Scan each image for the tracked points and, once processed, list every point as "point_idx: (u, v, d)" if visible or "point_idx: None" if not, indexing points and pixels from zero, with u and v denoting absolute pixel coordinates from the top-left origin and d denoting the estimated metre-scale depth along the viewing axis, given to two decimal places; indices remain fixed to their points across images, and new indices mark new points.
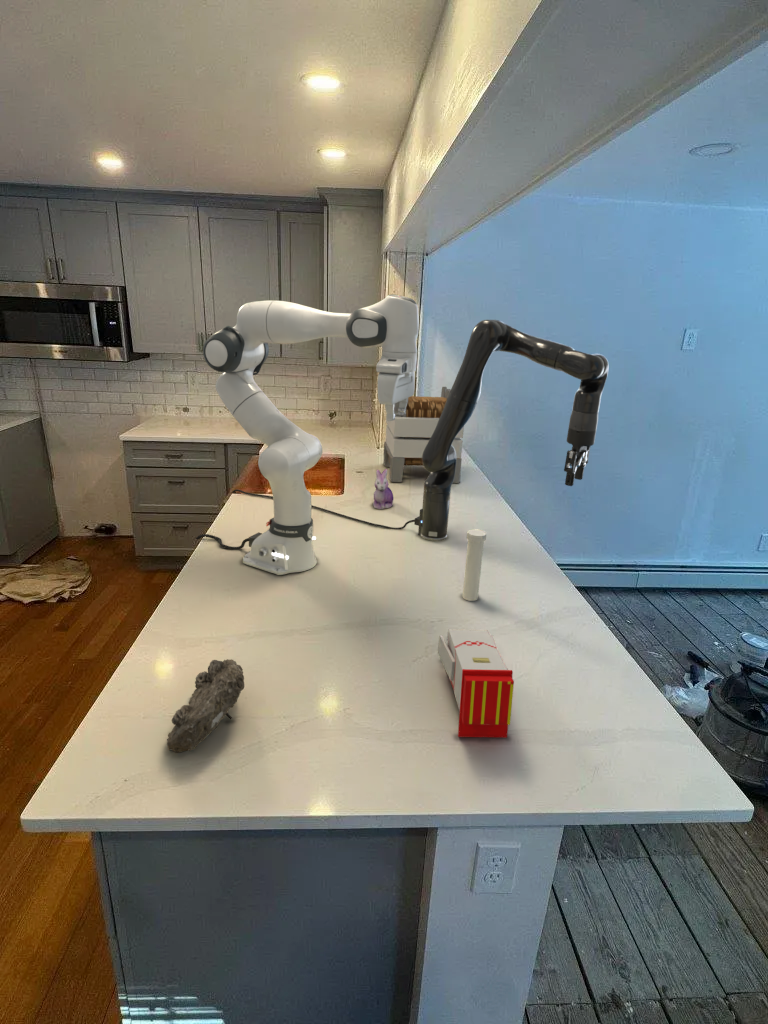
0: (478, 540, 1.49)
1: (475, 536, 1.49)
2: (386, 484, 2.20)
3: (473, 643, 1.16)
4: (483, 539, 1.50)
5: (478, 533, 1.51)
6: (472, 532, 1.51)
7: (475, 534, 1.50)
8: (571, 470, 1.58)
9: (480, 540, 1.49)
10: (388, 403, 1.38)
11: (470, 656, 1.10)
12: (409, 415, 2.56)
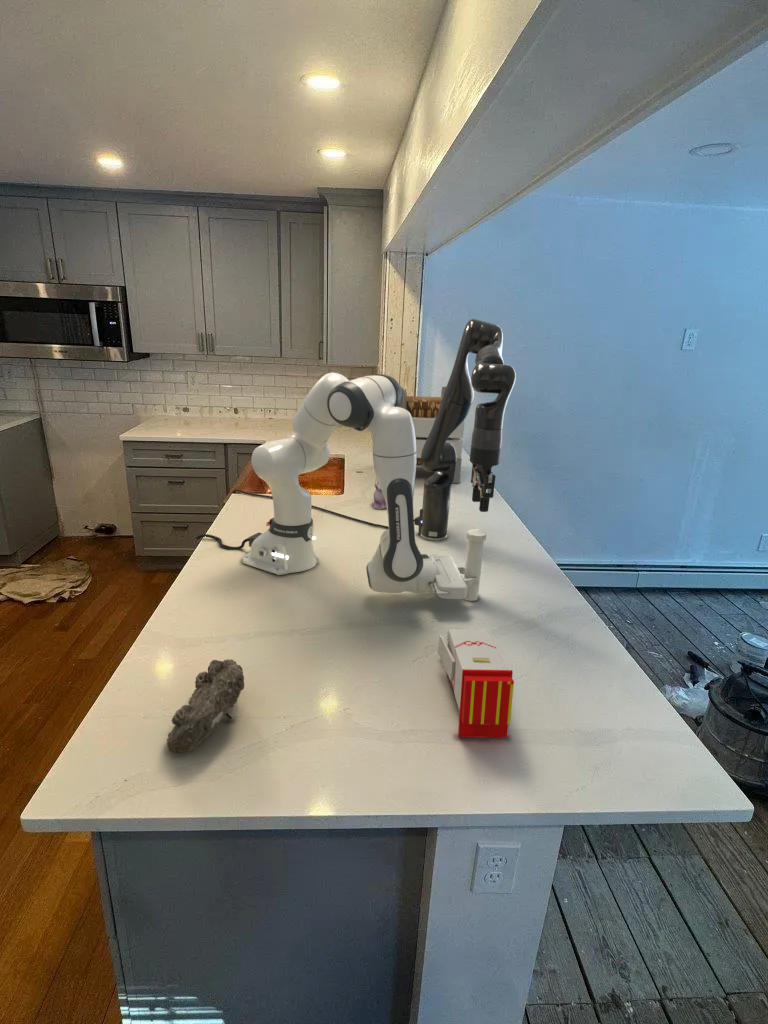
0: (478, 540, 1.49)
1: (475, 536, 1.49)
2: None
3: (473, 643, 1.16)
4: (483, 539, 1.50)
5: (478, 533, 1.51)
6: (472, 532, 1.51)
7: (475, 534, 1.50)
8: None
9: (480, 540, 1.49)
10: None
11: (470, 656, 1.10)
12: None
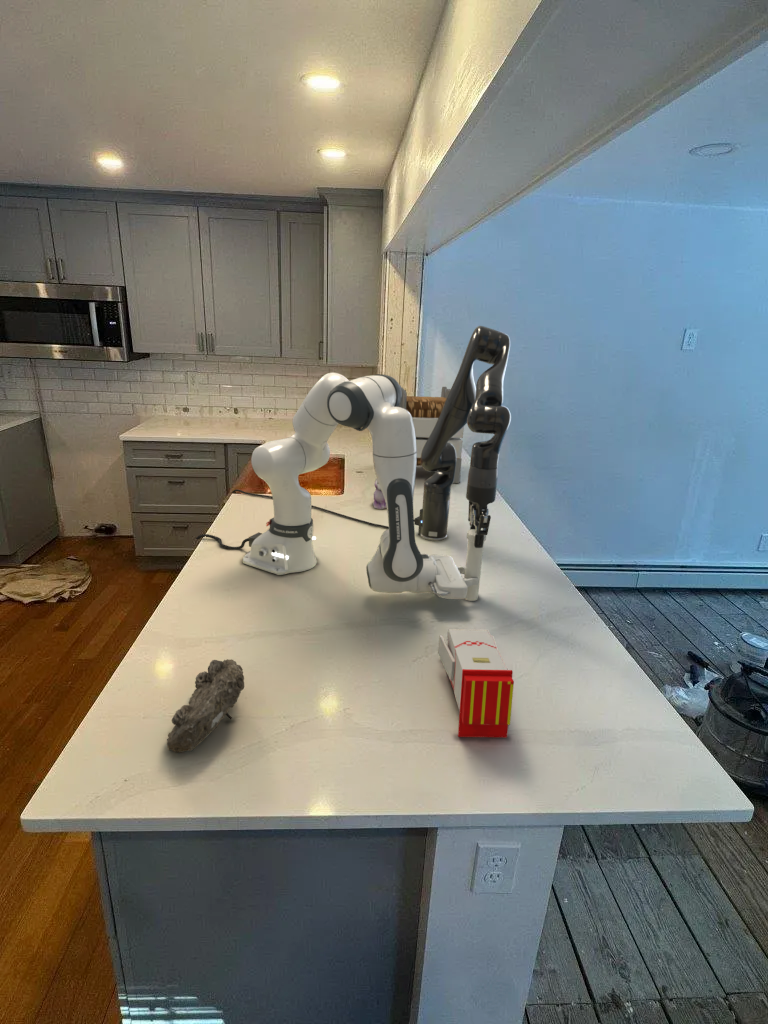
0: None
1: None
2: None
3: (473, 643, 1.16)
4: None
5: None
6: (473, 532, 1.51)
7: None
8: None
9: None
10: None
11: (470, 656, 1.10)
12: None
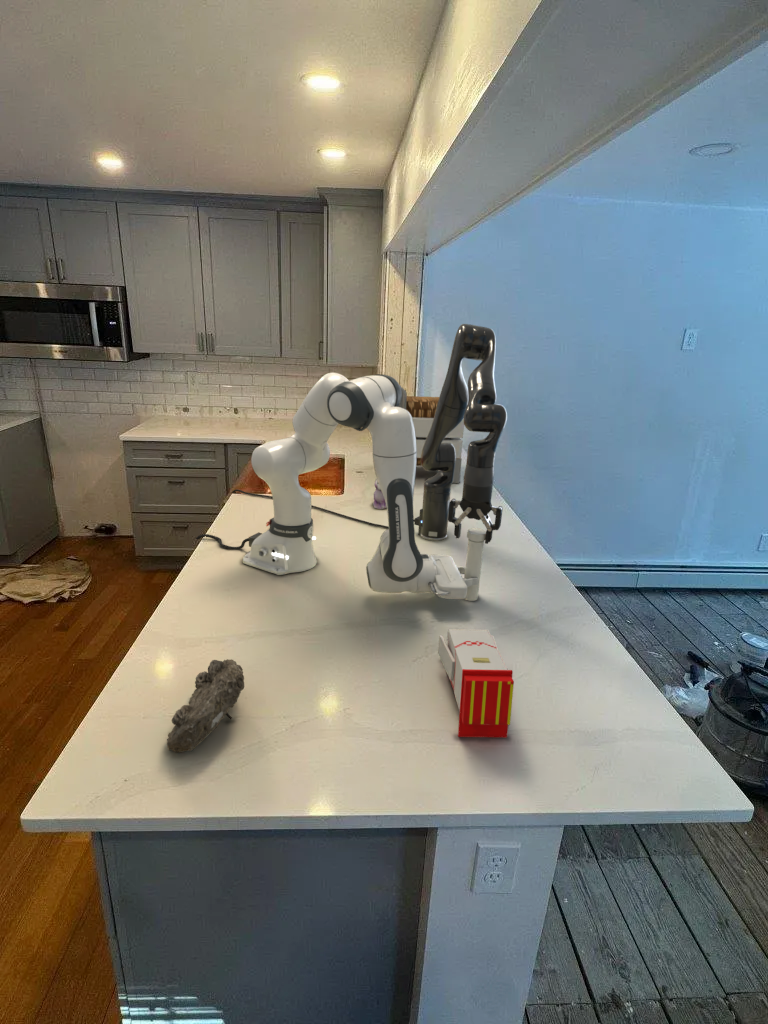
0: None
1: None
2: None
3: (473, 643, 1.16)
4: None
5: (479, 530, 1.52)
6: (480, 532, 1.50)
7: (483, 532, 1.51)
8: None
9: None
10: None
11: (470, 656, 1.10)
12: None
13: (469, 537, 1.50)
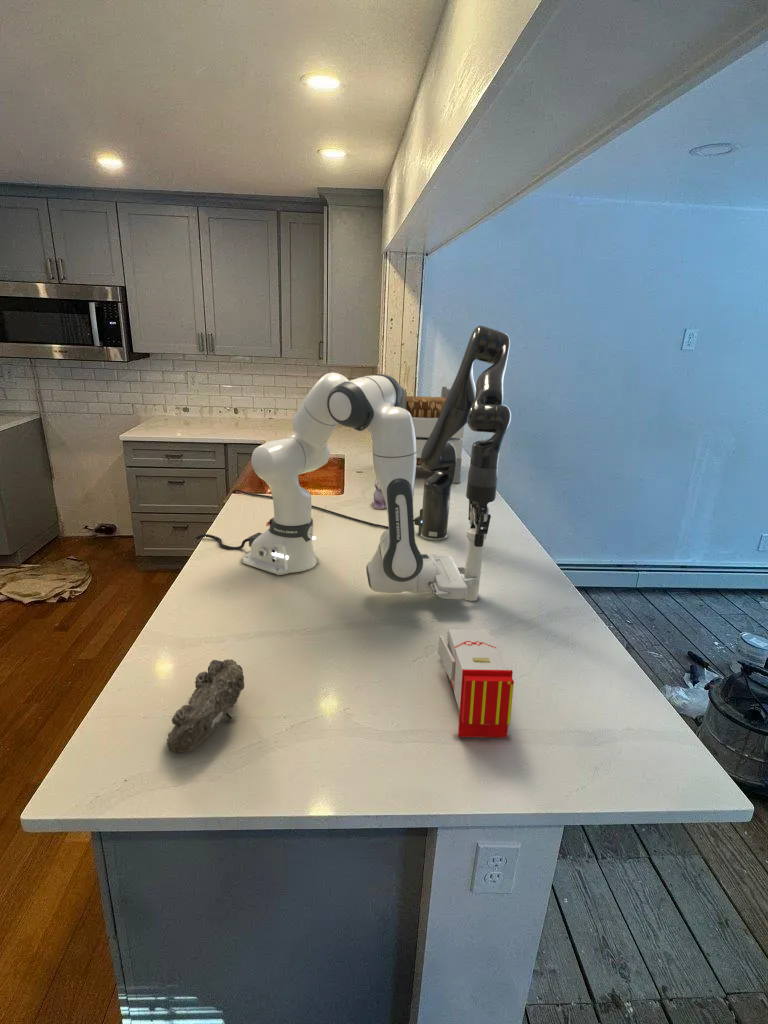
0: None
1: None
2: None
3: (473, 643, 1.16)
4: None
5: None
6: None
7: None
8: None
9: None
10: None
11: (470, 656, 1.10)
12: None
13: (469, 537, 1.50)
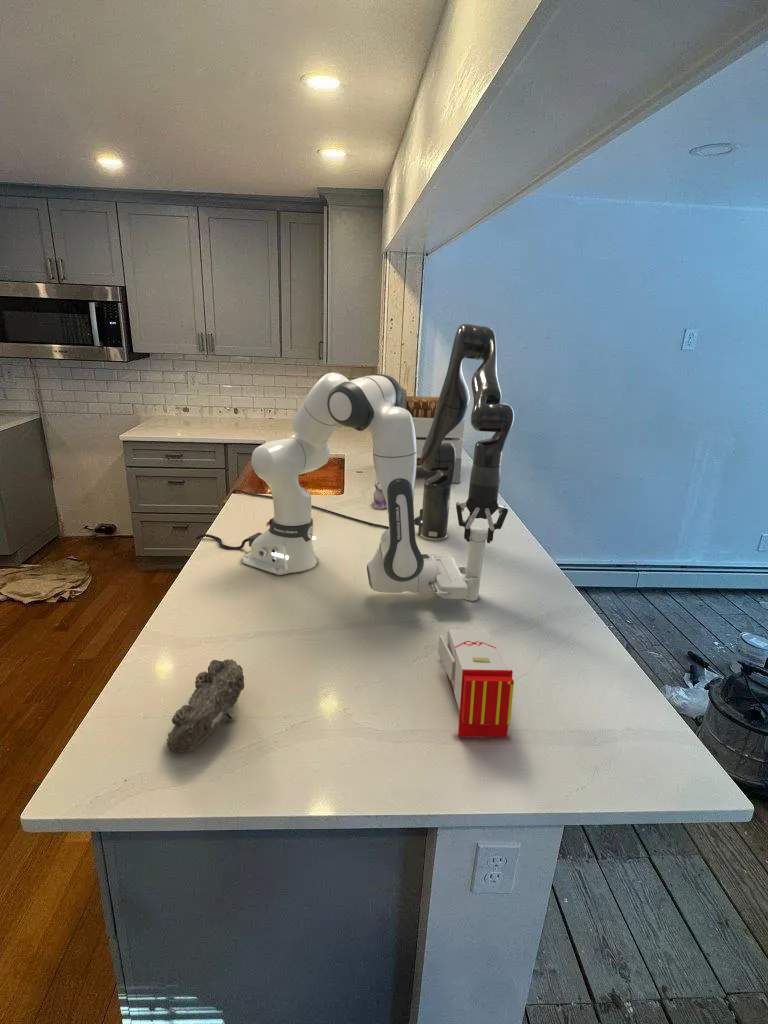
0: None
1: None
2: None
3: (473, 643, 1.16)
4: None
5: (477, 529, 1.52)
6: (482, 530, 1.52)
7: (480, 528, 1.53)
8: (459, 523, 1.50)
9: None
10: None
11: (470, 656, 1.10)
12: None
13: (483, 538, 1.50)
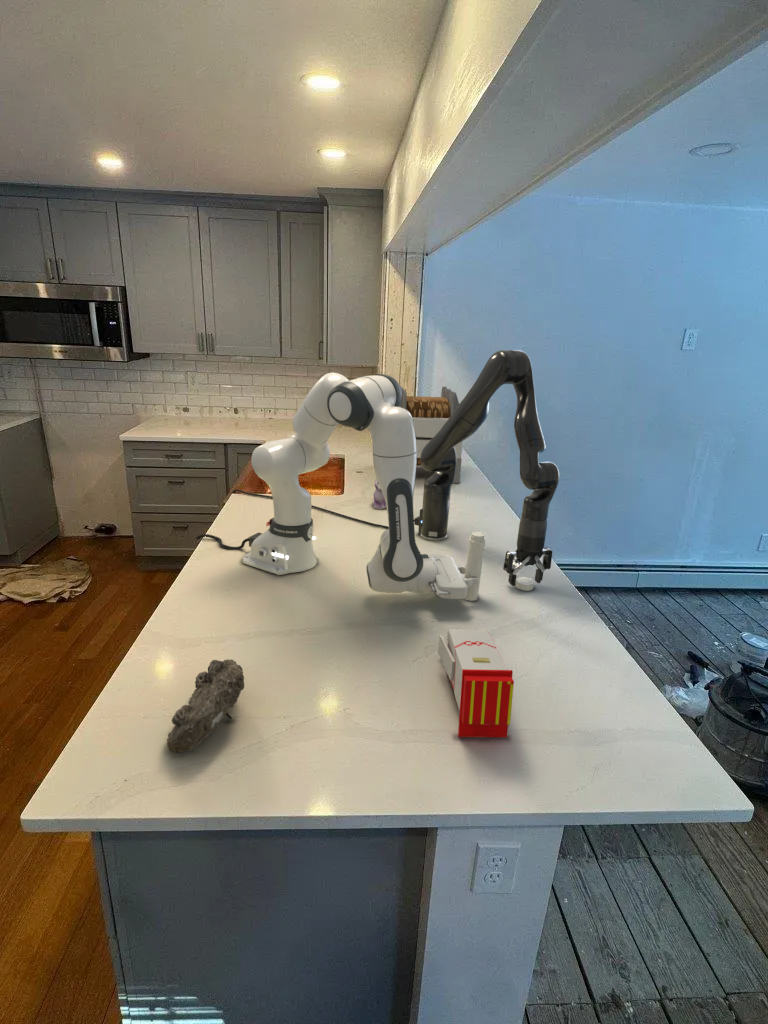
0: None
1: None
2: None
3: (473, 643, 1.16)
4: (516, 582, 1.66)
5: (522, 580, 1.65)
6: (527, 579, 1.66)
7: (523, 578, 1.66)
8: (507, 570, 1.60)
9: None
10: None
11: (470, 656, 1.10)
12: None
13: (531, 588, 1.64)
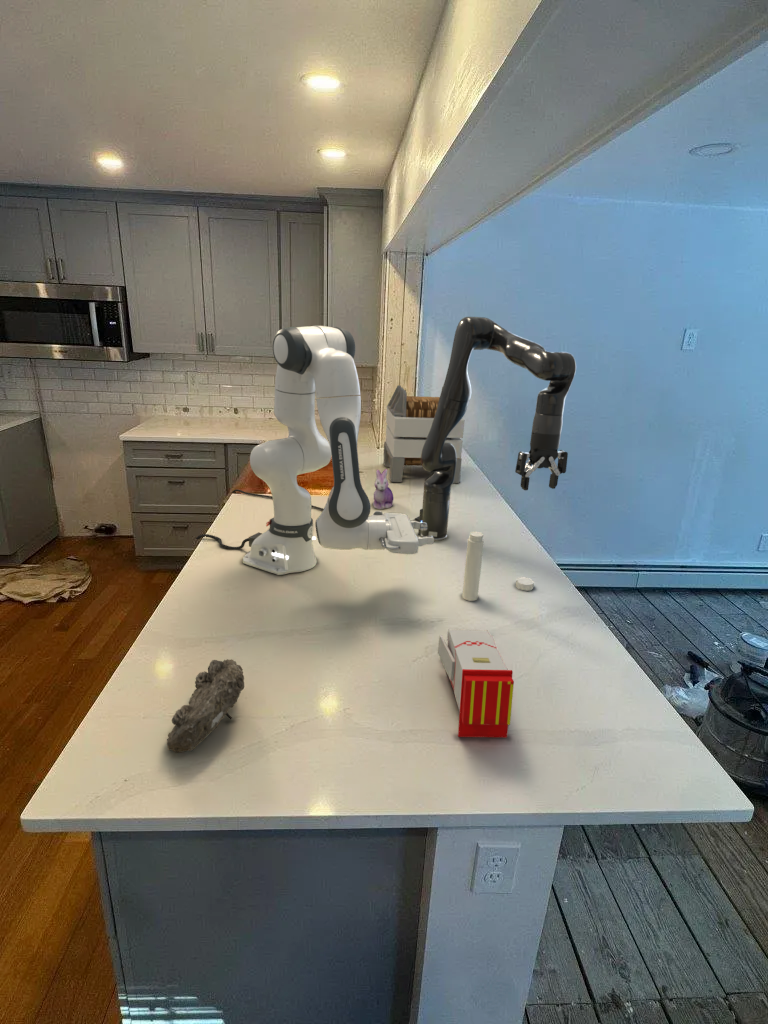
0: None
1: None
2: (386, 484, 2.20)
3: (473, 643, 1.16)
4: (516, 582, 1.66)
5: (522, 580, 1.65)
6: (527, 579, 1.66)
7: (523, 578, 1.66)
8: (519, 472, 1.51)
9: None
10: None
11: (470, 656, 1.10)
12: (409, 415, 2.56)
13: (531, 588, 1.64)
